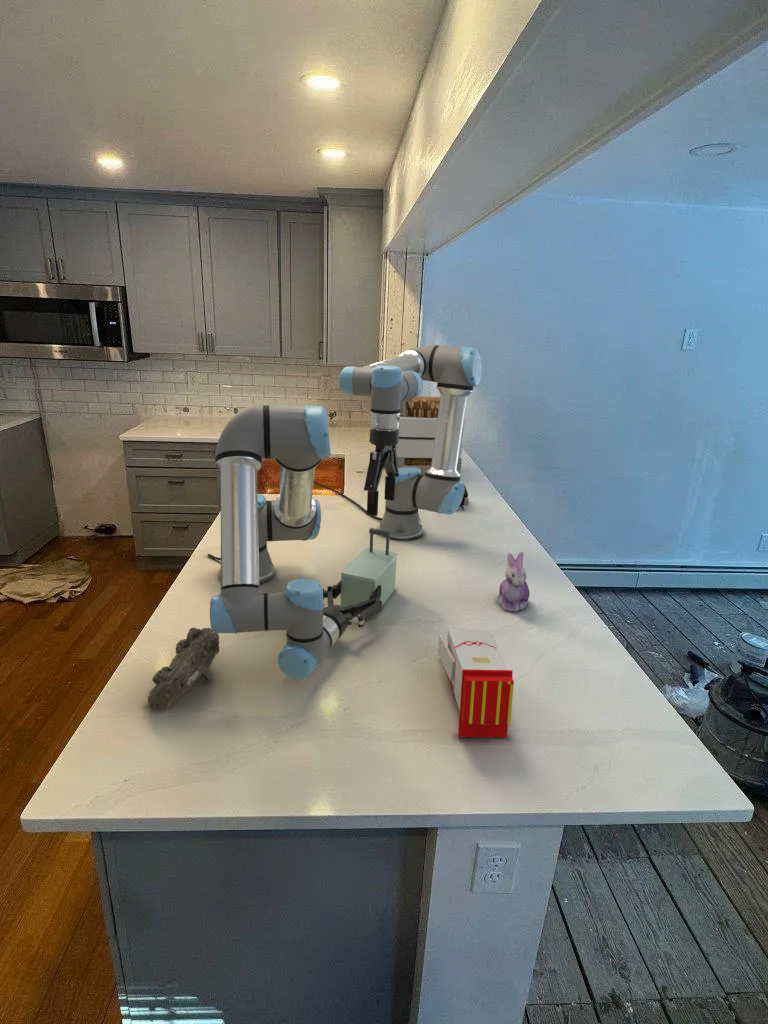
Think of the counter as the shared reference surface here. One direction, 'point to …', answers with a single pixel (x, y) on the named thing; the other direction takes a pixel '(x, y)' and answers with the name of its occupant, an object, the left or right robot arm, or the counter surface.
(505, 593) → the figurine
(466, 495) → the figurine character
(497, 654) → the toy
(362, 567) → the lid
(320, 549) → the counter surface
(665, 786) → the counter surface
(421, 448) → the light grey boxy piece
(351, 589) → the chest
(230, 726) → the counter surface
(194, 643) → the fossil
